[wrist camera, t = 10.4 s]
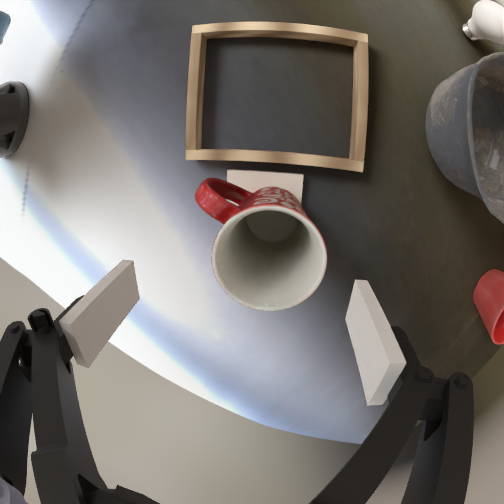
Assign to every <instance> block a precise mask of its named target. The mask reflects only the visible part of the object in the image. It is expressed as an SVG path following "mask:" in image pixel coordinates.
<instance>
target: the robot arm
mask: <svg viewBox="0 0 504 504" xmlns="http://www.w3.org/2000/svg"><path fill="white" fill-rule="evenodd" d="M10 22H11V19H10V16H9V15H8V14H6V13H4V12H2V11H0V44H2V42H3V38H4V35H5V33H6V31H7V29H8V27H9V25H10ZM28 113H29V99H28V93H27V90H26V88H25V86H24V85H23V84H22V83H21V82H6V83H4V84H1V85H0V158H1V157H5V156H9V155H11V154H13V153H14V152H15V151H16V150H17V148H18V147H19V145H20V143H21V141H22V139H23V136H24V133H25V130H26V126H27V121H28ZM139 299H140V298H139V292H138V287H137V281H136V275H135V269H134V262H133V261H130V260H122V261H121V262H120V263H119V264H118V265H117V266H116V267H115V268H113V269H112V270H111V271H110V272H109V273H108V274H107V275H106V276H105V277H104V278H102V279H101V280H100V281H99V282H98V283H97V284H96V285H95V286H94V287H93V288H92V289H91V290H90V291H89V292H88V293H87V294H86V295H83V296H81V297H79V298H77V299H76V300H75V301H74V302H73V303H71V304H70V306H68V307H67V308H66V310H64V311H63V312H62V313H61V314H60V315H59V316H58V317H57V318H56V320H54V321H53V320H52V317H51V315H50V312H49V310H48V309H45V308H40V309H37V310H34V311H33V312H31V314H30V315H29V316H28V321H29V323H30V326H31V328H32V330H27V329H26V327H25V325H24V323H23V322H22V321H16V322H13V323H11V324H10V325H9V326H8V327H7V328H6V330H5V332H4V335H3V337H2V339H1V341H0V504H28V503H27V502H26V501H25V499H24V493H25V487H26V477H27V456H28V443H29V434H30V426H31V419H32V413H33V422H34V431H35V439H36V446H37V450H36V451H35V452H32V454H31V461H32V467H33V472H34V477H35V481H36V485H37V490H38V494H39V498H40V501H41V504H159V503H157V502H156V501H154V500H152V499H150V498H148V497H147V496H145V495H143V494H140V493H137V492H135V491H132V490H129V489H126V488H124V487H121V486H119V485H117V487H116V489H108V488H107V486H106V484H105V483H104V481H103V480H102V478H101V477H100V475H99V473H98V471H97V467H96V464H95V462H94V458H93V455H92V452H91V449H90V446H89V442H88V439H87V435H86V431H85V428H84V424H83V420H82V415H81V411H80V407H79V402H78V398H77V392H76V386H75V380H74V374H73V367H72V363H71V361H70V359H71V358H72V357H73V356H74V358H75V360H76V362H77V364H79V365H82V366H85V367H87V368H89V367H90V365H91V364H92V362H93V361H94V359H95V358H96V357H97V355H98V354H99V352H100V351H101V350H102V348H103V347H104V345H105V344H106V343H107V341H108V340H109V339H110V337H111V336H112V335H113V333H114V332H115V331H116V329H117V328H118V327H119V325H120V324H121V323H122V321H123V320H124V319H125V317H126V316H127V315H128V313H129V312H130V311H131V309H132V308H133V307H134V306H135V304H136V303H137V302H138V300H139ZM345 320H346V323H347V327H348V330H349V334H350V338H351V341H352V345H353V349H354V352H355V356H356V360H357V364H358V368H359V372H360V376H361V380H362V384H363V388H364V393H365V397H366V401H367V406H371V405H383V403H384V402H385V400H386V398H387V397H388V400H389V403H390V404H389V405H388V407H387V408H386V410H385V411H384V413H383V414H382V416H381V418H380V419H379V421H378V422H377V423H376V425H375V426H374V428H373V429H372V431H371V432H370V433H369V435H368V436H367V437H366V439H365V440H364V441H363V443H362V444H361V445H360V447H359V448H358V449H357V451H356V452H355V453H354V454H353V456H352V457H351V458H350V459H349V461H348V462H347V463H346V464H345V466H344V467H343V468H342V469H341V470H340V471H339V472H338V474H337V475H336V476H335V477H334V478H333V479H332V480H331V481H330V482H329V484H328V485H327V486H326V487H325V488H324V489H323V490H322V491H321V492H320V493H319V494H318V495H317V496H316V497H315V498H314V499H313V500H312V501H311V502H310V503H309V504H365V503H366V502H367V501H368V499H369V498H370V497H371V496H372V494H373V493H374V491H375V490H376V488H377V487H378V486H379V484H380V483H381V482H382V480H383V479H384V477H385V476H386V474H387V473H388V471H389V470H390V468H391V467H392V465H393V463H394V462H395V460H396V459H397V457H398V455H399V454H400V452H401V450H402V448H403V447H404V445H405V443H406V442H407V440H408V438H409V436H410V434H411V432H412V430H413V429H414V427H415V425H416V423H417V421H418V420H423V423H422V428H421V434H420V439H419V443H418V447H417V452H416V456H415V460H414V464H413V468H412V471H411V475H410V478H409V481H408V484H407V487H406V491H405V494H404V497H403V499H402V502H401V504H464V501H465V497H466V491H467V486H468V479H469V473H470V466H471V456H472V445H473V426H474V425H473V423H474V404H473V403H474V402H473V401H474V399H473V384H472V381H471V379H470V378H469V377H468V376H467V375H466V374H463V373H460V372H456V373H453V374H452V375H451V376H450V378H449V379H448V380H447V379H440V378H435V377H434V374H433V373H432V372H431V370H429V369H428V368H426V367H423V366H421V365H420V362H419V360H418V358H417V356H416V354H415V352H414V350H413V348H412V347H411V344H410V342H409V341H408V338H407V336H406V334H405V332H404V331H403V330H402V329H401V328H400V327H399V326H390V325H389V323H388V321H387V318H386V316H385V314H384V312H383V310H382V308H381V306H380V304H379V302H378V300H377V298H376V296H375V294H374V292H373V290H372V288H371V286H370V285H369V283H368V281H367V280H355V282H354V286H353V291H352V295H351V299H350V303H349V306H348V310H347V314H346V318H345ZM19 360H20V361H21V362H20V365H19Z"/></svg>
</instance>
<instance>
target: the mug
mask: <svg viewBox="0 0 504 504" xmlns="http://www.w3.org/2000/svg"><path fill="white" fill-rule="evenodd" d="M226 199H227V200H230V201H232V202H234V203H236V204H238V205H239V206H237V205H235V204H233V203H231V202H229V201H227V200H226ZM195 200H196V202H197V203H198V205H199V206H200V207H201V208H202V209H203V210H204V211H205V212H206V213H207V214H209V215H210V216H211V217H213V218H215V219H216V220H218V221H220V222H221V223H223V224H224V225H223V226H222V228H221V229H220V231H219V232H218V234H217V236H216V239H215V241H214V244H213V249H212V267H213V271H214V274H215V277H216V279H217V281H218V283H219V284H220V286H221V287H222V289H223V290H224V291H225V292H226V293H227V294H228V295H229V296H230V297H231V298H232V299H234V300H235V301H237V302H238V303H240V304H242V305H244V306H247V307H249V308H252V309H256V310H262V311H277V310H283V309H287V308H290V307H293V306H295V305H297V304H299V303H301V302H303V301H304V300H306V299H307V298H308V297H309V296H310V295H311V294H312V293H313V292H314V291H315V290H316V289H317V288H318V286H319V285H320V283H321V281H322V279H323V277H324V274H325V271H326V267H327V249H326V245H325V242H324V239H323V237H322V235H321V233H320V231H319V230H318V229H317V227H316V226H315V225H314V223H313V222H312V221H311V220H310V219H309V218H308V216H307V215H306V213H305V211H304V209H303V208H302V206H301V204H300V202H299V201H298V199H297V198H296V197H295V196H294V195H293V194H292V193H291V192H289V191H287V190H285V189H283V188H280V187H273V186H272V187H264V188H261V189H259V190H257V191H255V192H254V193H251V192H249V191H247V190H245V189H243V188H241V187H239V186H237V185H234V184H232V183H229V182H227V181H224V180H221V179H217V178H207V179H206V180H204V181H203V182H202V183H201V185H200V186H199V188H198V189H197V191H196V193H195Z"/></svg>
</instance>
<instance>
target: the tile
mask: <svg viewBox="0 0 504 504" xmlns="http://www.w3.org/2000/svg"><path fill="white" fill-rule="evenodd" d="M303 176H304V175H303V174H298V173H287V172H273V171H257V170H236V169H228V170H227V182H229V183H232V184H234V185H237V186H239V187H241V188H243V189H245V190H247V191H249V192H251V193H254V192H255V191H257V190H259V189H261V188H264V187H272V186H273V187H280V188H283V189H285V190H287V191H289V192H291V193H292V194H293V195H294V196H295V197H296V198H297V199H298V201H299V202H300V204H301V200H302V188H303ZM227 201H229V202H231V203H233V204H235V205H237V206H239V205H238V204H236V203H234V202H232V201H230V200H227Z"/></svg>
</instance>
